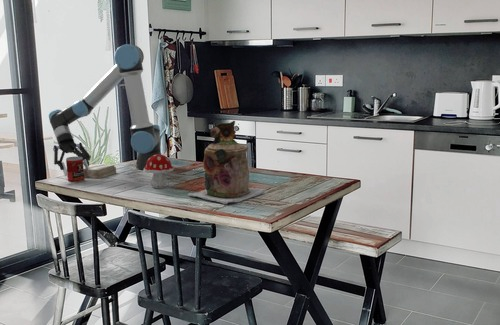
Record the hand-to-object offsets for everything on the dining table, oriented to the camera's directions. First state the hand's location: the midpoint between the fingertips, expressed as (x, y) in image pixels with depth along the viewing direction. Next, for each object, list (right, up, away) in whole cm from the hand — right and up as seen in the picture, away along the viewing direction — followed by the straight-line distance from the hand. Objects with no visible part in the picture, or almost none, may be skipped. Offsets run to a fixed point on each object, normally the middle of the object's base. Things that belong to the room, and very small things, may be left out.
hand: (77, 173), depth 256 cm
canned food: (-2, -4, +3) cm, 5 cm away
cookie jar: (+73, -9, -29) cm, 79 cm away
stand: (+5, -1, +15) cm, 16 cm away
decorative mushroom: (+41, -6, -13) cm, 44 cm away
